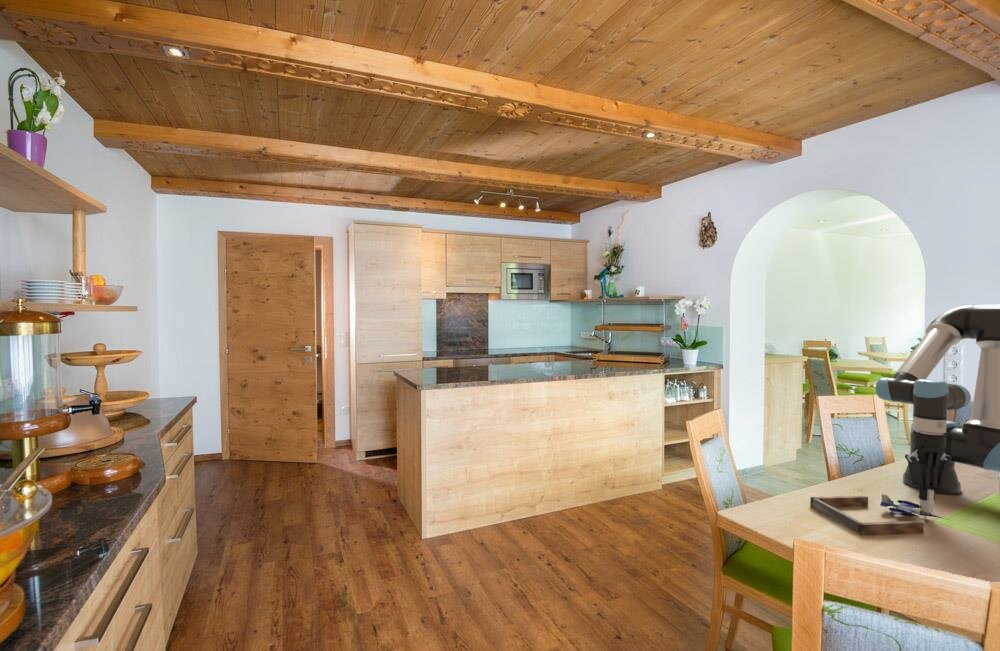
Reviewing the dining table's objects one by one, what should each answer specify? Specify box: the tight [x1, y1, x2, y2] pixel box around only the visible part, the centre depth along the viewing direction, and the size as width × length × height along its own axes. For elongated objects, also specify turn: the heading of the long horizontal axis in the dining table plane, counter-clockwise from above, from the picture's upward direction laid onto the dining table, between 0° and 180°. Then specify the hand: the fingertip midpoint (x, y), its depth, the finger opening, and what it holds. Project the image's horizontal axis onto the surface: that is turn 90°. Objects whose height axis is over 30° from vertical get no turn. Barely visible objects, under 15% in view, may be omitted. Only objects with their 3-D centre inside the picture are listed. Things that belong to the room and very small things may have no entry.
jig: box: [809, 495, 925, 537], centre depth 141 cm, size 18×19×3 cm
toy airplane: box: [879, 493, 952, 524], centre depth 142 cm, size 13×14×4 cm
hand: (926, 510), depth 142 cm, fingers closed
